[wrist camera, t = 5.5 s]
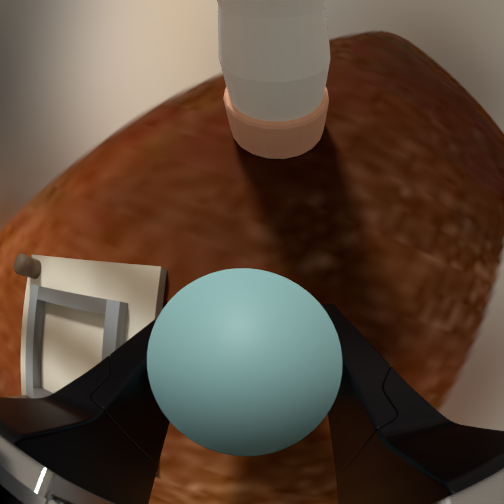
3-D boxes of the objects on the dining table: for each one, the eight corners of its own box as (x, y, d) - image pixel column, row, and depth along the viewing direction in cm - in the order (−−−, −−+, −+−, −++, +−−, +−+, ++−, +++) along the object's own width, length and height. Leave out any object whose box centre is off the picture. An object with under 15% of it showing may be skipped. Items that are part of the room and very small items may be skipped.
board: (155, 466, 14) (137, 484, 11) (30, 410, 15) (7, 414, 12) (167, 270, 17) (147, 258, 15) (39, 257, 19) (16, 247, 16)
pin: (298, 384, 14) (329, 459, 5) (221, 378, 15) (144, 436, 5) (304, 309, 16) (346, 273, 6) (228, 304, 16) (157, 262, 6)
